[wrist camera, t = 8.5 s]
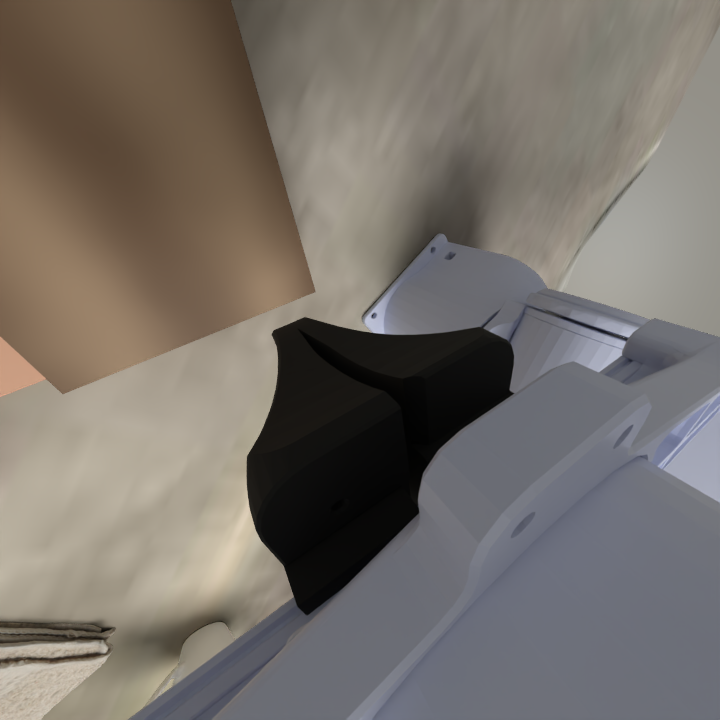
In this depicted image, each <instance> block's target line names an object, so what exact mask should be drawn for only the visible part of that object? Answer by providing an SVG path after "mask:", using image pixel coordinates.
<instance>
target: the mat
mask: <svg viewBox="0 0 720 720" xmlns="http://www.w3.org/2000/svg"><path fill="white" fill-rule="evenodd" d="M45 379H46V378H45V377H44V376H43V375H42V374H40V373H39V372H38V371H37V370H36V369H35V368H34V367H33V366H32V365H31V364H30V363H28V362H27V361H26V360H25V359H24V358H23V357H22V356H21V355H20V354H19V353H18V352H17V351H15V350H14V349H13V348H12V347H11V346H10V345H9V344H8V343H7V342H6V341H5V340H4V339H2V338H1V337H0V397H1V396H4V395H6V394H9V393H12V392H14V391H17V390H19V389H22V388H24V387H27V386H30V385H32V384H35V383H37V382H40V381H43V380H45Z"/></svg>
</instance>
